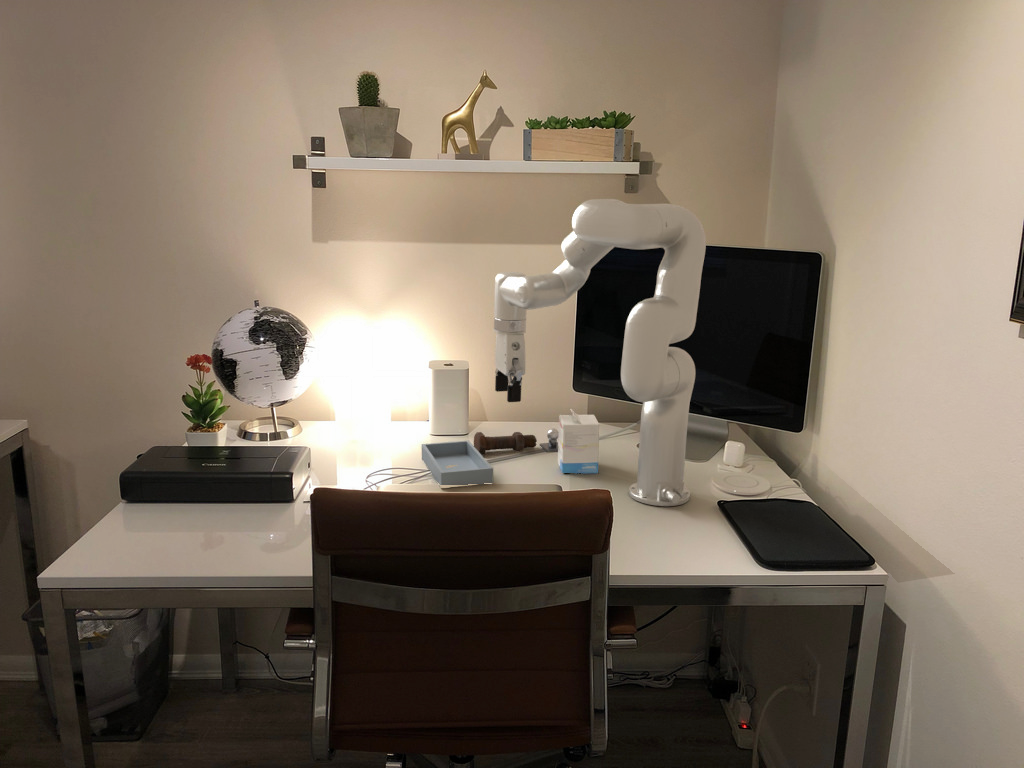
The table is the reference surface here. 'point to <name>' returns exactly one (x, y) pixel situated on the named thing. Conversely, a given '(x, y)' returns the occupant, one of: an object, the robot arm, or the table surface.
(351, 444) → the table surface
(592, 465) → the ink box
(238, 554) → the table surface
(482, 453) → the bolt
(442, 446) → the parts tray
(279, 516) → the table surface
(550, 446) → the ball stud
